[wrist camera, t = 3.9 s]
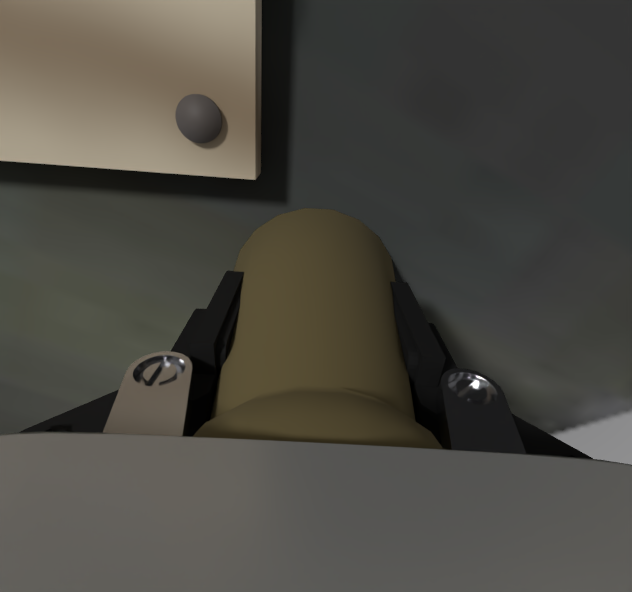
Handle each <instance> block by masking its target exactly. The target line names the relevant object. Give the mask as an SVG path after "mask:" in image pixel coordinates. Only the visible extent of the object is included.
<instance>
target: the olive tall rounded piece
mask: <svg viewBox="0 0 632 592" xmlns="http://www.w3.org/2000/svg"><path fill="white" fill-rule="evenodd" d="M234 271H239V272H244V274H243V278H242V281H241V299H240V308H239V312H238V315H237V319H236V323H235V327H234V331H233V335H232V339H231V343H230V346H229V350H228V354H227V358H226V361H225V363H224V364H223V366H222V369H221V372H220V375H219V378H218V381H217V385H216V390H215V395H214V399H213V404H212V410H211V417H210V421H208V422H206V423H205V424H204V425H203V426H202V427H201V428H200V429H199V430H198V431H197V432H196V433H195V434H194V435H193V436H192V437H211V438H231V439H251V440H270V441H290V442H310V443H331V444H350V445H370V446H389V447H409V448H429V449H443V447H442V446H441V445H440V443H439V442H438V441H437V439H436V438H435V437H434V435H433V434H432V433H431V431H429V430H428V429H426V428H425V427H423V426H422V425H420V424H419V423H417V422H416V420H415V413H414V406H413V400H412V393H411V388H410V382H409V377H408V372H407V369H406V365H405V360H404V356H403V351H402V347H401V342H400V338H399V333H398V329H397V324H396V320H395V315H394V304H393V290H392V287H391V282H396V281H395V275H394V270H393V264H392V259H391V257H390V255H389V253H388V252H387V250H386V248H385V246H384V245H383V243H382V241H381V240H380V238H379V236H377V235H376V234H375V233H374V232H373V231H371V230H370V229H369V228H368V227H367V226H365V225H364V224H363V223H362V222H361V221H359V220H358V219H355V218H353V217H350V216H348V215H345V214H342V213H340V212H337V211H335V210H328V209H310V208H304V209H300V210H296V211H292V212H289V213H285V214H281V215H278V216H276V217H275V218H273V219H271V220H270V221H268V222H267V223H265V224H264V225H262V226H261V227H259V228H258V229H256V230H255V231H254V233H253V234H252V235H251V236H250V238H249V239H248V240H247V242H246V243H245V244H244V246H243V247H242V248H241V250H240V252H239V255H238V258H237V262H236V265H235V268H234Z"/></svg>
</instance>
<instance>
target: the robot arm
mask: <svg viewBox="0 0 632 592" xmlns="http://www.w3.org/2000/svg"><path fill="white" fill-rule="evenodd" d="M243 274H244V272H239V271H226V273H225V275H224V277H223V279H222V281H221V283H220V285H219V286H218V288H217V290H216V292H215V294H214V296H213V298H212V300H211V302H210V304H209V305H208V307H207V309H196V310H195V311H194V312H193V314H192V316H191V317H190V319H189V321H188V322H187V324H186V326H185V328H184V329H183V331H182V333H181V335H180V336H179V338H178V340H177V341H176V343H175V345H174V347H173V348H172V350H171V352H168V351H164V352H156V353H152V354H149V355H146V356H144V357H142V358H140V359H138V360H136V361H135V362H134V363H133V364H131V365H130V366H129V368H128V369H127V371H126V373H125V376H124V378H123V381H122V383H121V386H120V389H119V390H117V391H115V392H112V393H110V394H108V395H105V396H103V397H100V398H98V399H96V400H93V401H91V402H89V403H86V404H84V405H81V406H79V407H77V408H74V409H72V410H70V411H67V412H65V413H63V414H60V415H58V416H55V417H53V418H51V419H48V420H46V421H44V422H41V423H39V424H37V425H34V426H32V427H29V428H27V429H25V430H23V431H21V432H19V433H7V434H0V592H632V465H630V464H624V463H617V462H610V461H604V460H597V459H593V458H591V457H589V456H588V455H586V454H584V453H582V452H580V451H578V450H577V449H575V448H573V447H571V446H569V445H567V444H566V443H564V442H562V441H560V440H558V439H556V438H555V437H553V436H551V435H549V434H547V433H546V432H544V431H542V430H540V429H538V428H537V427H535V426H533V425H531V424H529V423H527V422H526V421H524V420H522V419H520V418H518V417H517V416H515V415H513V414H511V411H510V409H509V406H508V403H507V401H506V398H505V395H504V393H503V391H502V390H501V388H500V386H499V385H497V384H496V383H495V382H494V381H493V380H492V379H490V378H489V377H487V376H485V375H483V374H481V373H479V372H476V371H472V370H469V369H459V368H457V366H456V364H455V363H454V361H453V359H452V357H451V355H450V353H449V351H448V350H447V348H446V346H445V344H444V342H443V340H442V338H441V336H440V335H439V333H438V331H437V329H436V327H435V326H434V324H432V323H428V322H427V320H426V318H425V316H424V314H423V312H422V310H421V308H420V306H419V304H418V302H417V300H416V299H415V297H414V295H413V293H412V291H411V289H410V287H409V285H408V283H404V282H391V287H392V290H393V304H394V315H395V320H396V324H397V329H398V333H399V338H400V342H401V347H402V351H403V356H404V360H405V365H406V369H407V372H408V377H409V382H410V388H411V393H412V400H413V406H414V413H415V420H416V422H417V423H419V424H420V425H422V426H423V427H425V428H426V429H428V430H429V431H431V433H432V434H433V435H434V437H435V438H436V439H437V441H438V442H439V443H440V445H441V446H442V447H443V449H429V448H409V447H389V446H370V445H350V444H331V443H310V442H290V441H270V440H251V439H231V438H211V437H192V436H193V435H194V434H195V433H196V432H197V431H198V430H199V429H200V428H201V427H202V426H203V425H204V424H205V423H206V422H208V421H210V417H211V410H212V404H213V399H214V395H215V390H216V385H217V381H218V378H219V375H220V372H221V369H222V366H223V364H224V363H225V361H226V358H227V354H228V350H229V346H230V343H231V339H232V335H233V331H234V327H235V323H236V319H237V315H238V312H239V308H240V299H241V281H242V278H243Z"/></svg>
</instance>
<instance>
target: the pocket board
mask: <svg viewBox="0 0 632 592" xmlns="http://www.w3.org/2000/svg"><path fill="white" fill-rule="evenodd" d="M261 49H262V0H0V161H12V162H25V163H38V164H52V165H65V166H78V167H91V168H105V169H118V170H131V171H144V172H157V173H171V174H184V175H197V176H210V177H224V178H237V179H250V180H256V179H257V177H258V176H259V175H260V173H261Z"/></svg>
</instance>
